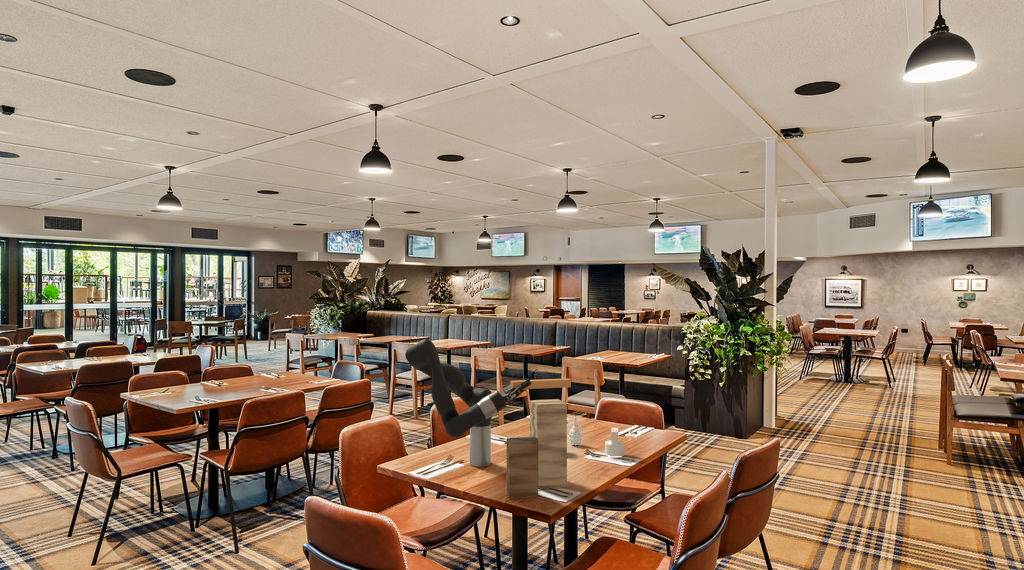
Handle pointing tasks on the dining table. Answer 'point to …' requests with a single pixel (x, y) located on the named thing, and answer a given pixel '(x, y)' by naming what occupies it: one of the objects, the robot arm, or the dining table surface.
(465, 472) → the dining table surface
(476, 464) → the robot arm
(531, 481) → the block
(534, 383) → the bar
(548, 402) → the stand
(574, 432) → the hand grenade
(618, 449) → the cylinder with rectangular tab
